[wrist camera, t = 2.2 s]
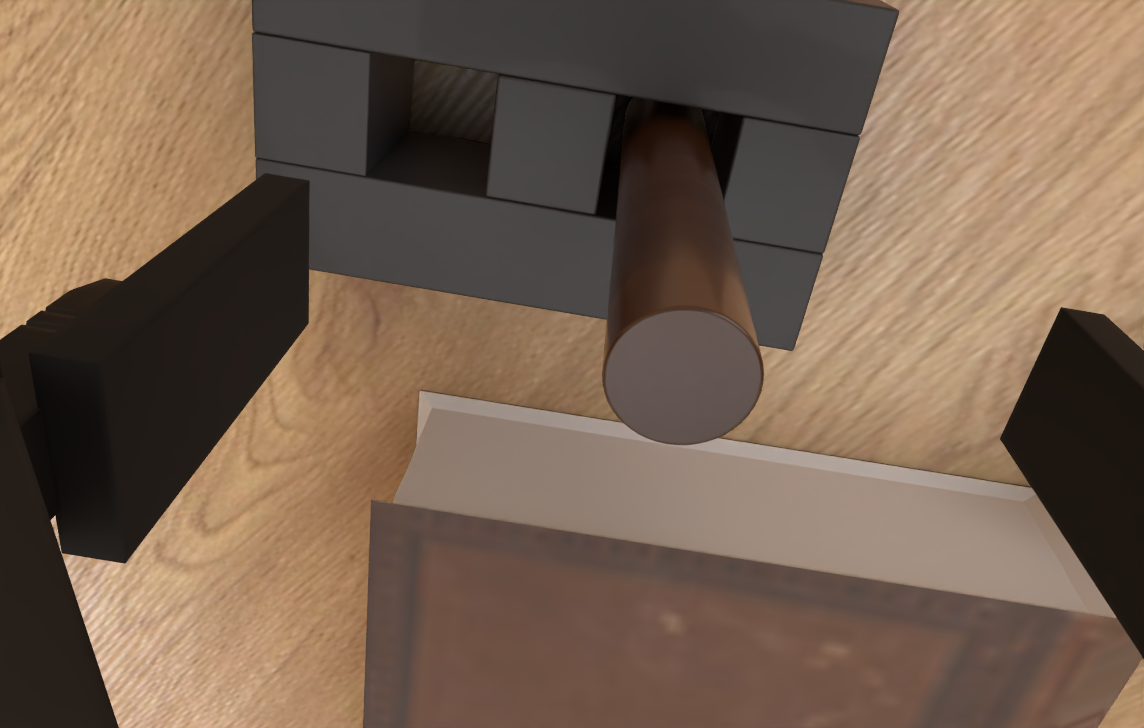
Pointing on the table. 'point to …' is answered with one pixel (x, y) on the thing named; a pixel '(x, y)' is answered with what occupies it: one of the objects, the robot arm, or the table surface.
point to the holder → (562, 135)
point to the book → (716, 588)
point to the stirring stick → (676, 288)
